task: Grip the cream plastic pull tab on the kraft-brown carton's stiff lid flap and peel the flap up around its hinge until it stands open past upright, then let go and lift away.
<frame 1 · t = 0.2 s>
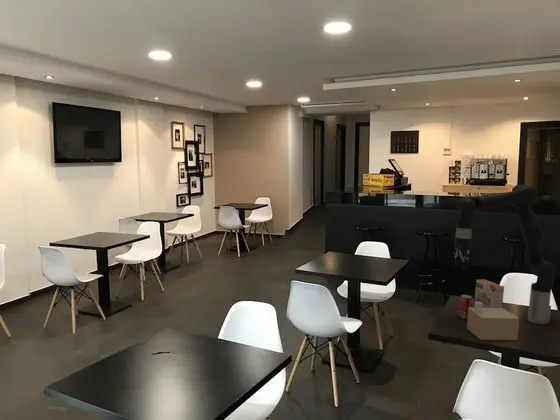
hand: (460, 267, 229), 29 cm above the table, fingers open, 8 cm apart
lid flap: (493, 308, 215), point 13 cm above the table, hinge at 0.0°
carton: (491, 334, 217), on the table
cracker box: (486, 321, 235), on the table
soda can: (464, 318, 238), on the table
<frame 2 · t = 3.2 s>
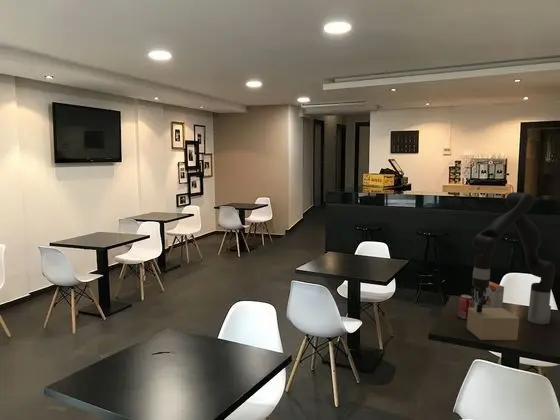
hand: (478, 311, 215), 12 cm above the table, fingers closed
lid flap: (493, 308, 215), point 13 cm above the table, hinge at 0.0°, touching gripper
everything else where it was.
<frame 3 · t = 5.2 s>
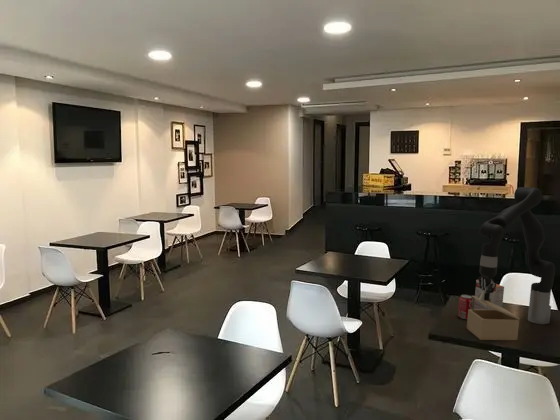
hand: (485, 299, 214), 18 cm above the table, fingers closed
lid flap: (497, 302, 215), point 16 cm above the table, hinge at 21.3°, touching gripper
everything else where it was.
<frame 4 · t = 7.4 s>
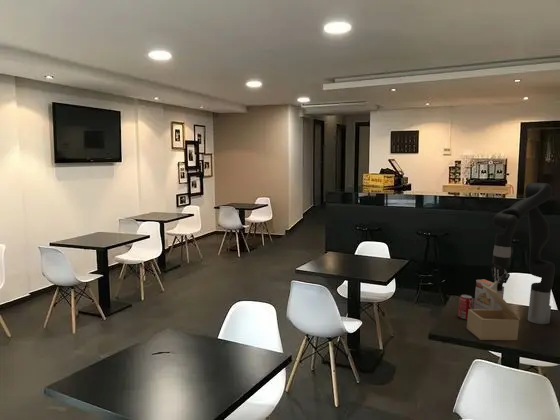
hand: (498, 289, 214), 22 cm above the table, fingers closed
lid flap: (504, 297, 215), point 19 cm above the table, hinge at 45.8°, touching gripper
everything else where it was.
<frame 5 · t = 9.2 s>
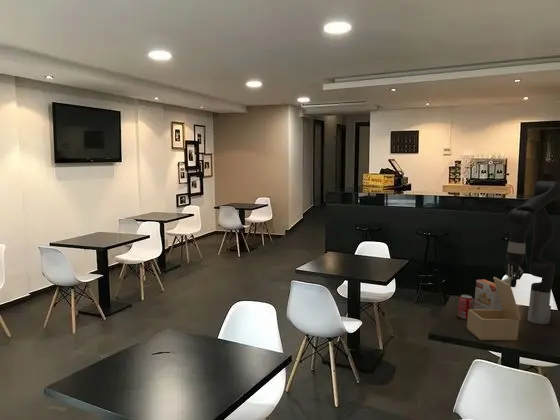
hand: (511, 286, 214), 24 cm above the table, fingers closed
lid flap: (511, 296, 215), point 19 cm above the table, hinge at 67.9°, touching gripper
everything else where it was.
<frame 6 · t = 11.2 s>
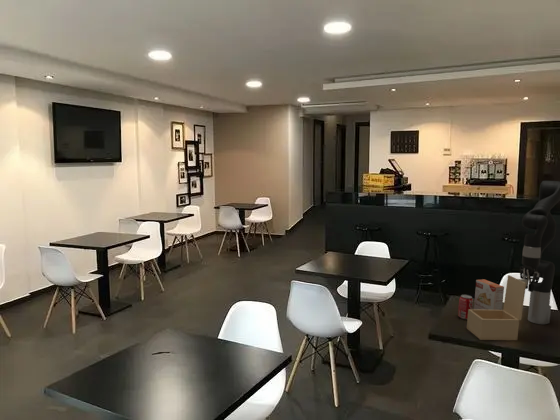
hand: (527, 289, 215), 23 cm above the table, fingers open, 4 cm apart
lid flap: (519, 297, 215), point 19 cm above the table, hinge at 92.5°
everything else where it was.
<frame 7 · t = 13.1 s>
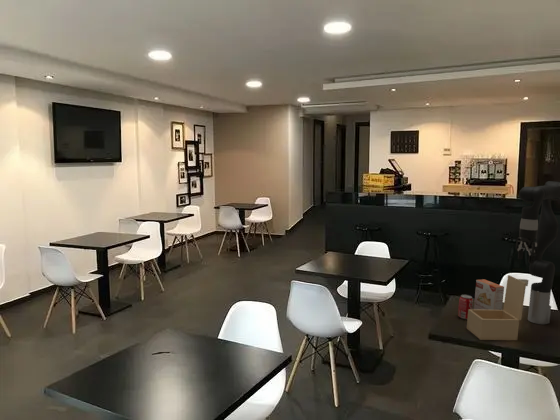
hand: (525, 261, 215), 37 cm above the table, fingers open, 8 cm apart
nothing on the table moved.
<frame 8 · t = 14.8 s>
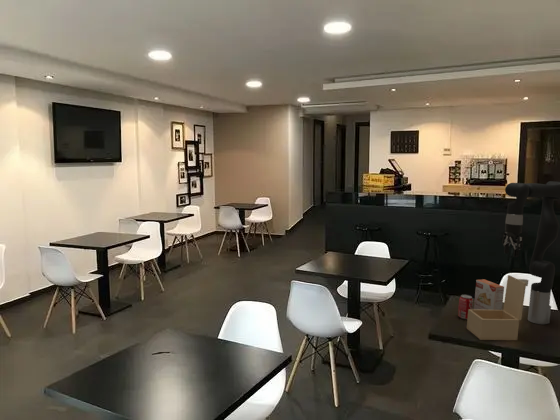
hand: (510, 255, 220), 38 cm above the table, fingers open, 8 cm apart
nothing on the table moved.
at the end: lid flap at +92° (first picture: +0°); the gripper is holding nothing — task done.
